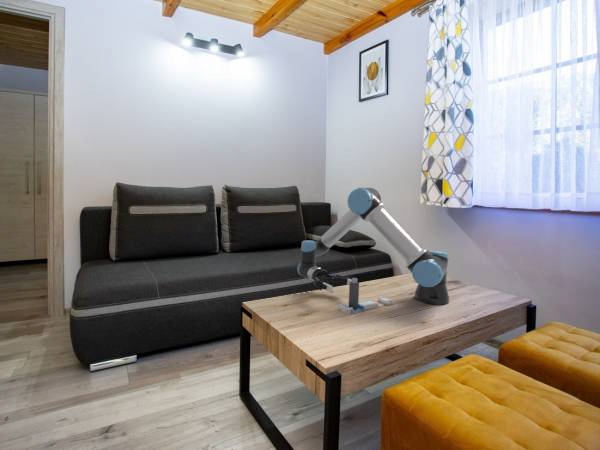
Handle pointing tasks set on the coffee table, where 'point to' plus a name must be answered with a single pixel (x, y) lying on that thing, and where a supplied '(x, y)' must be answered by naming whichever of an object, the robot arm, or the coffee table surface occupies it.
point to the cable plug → (353, 294)
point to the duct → (364, 305)
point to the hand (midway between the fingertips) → (344, 287)
